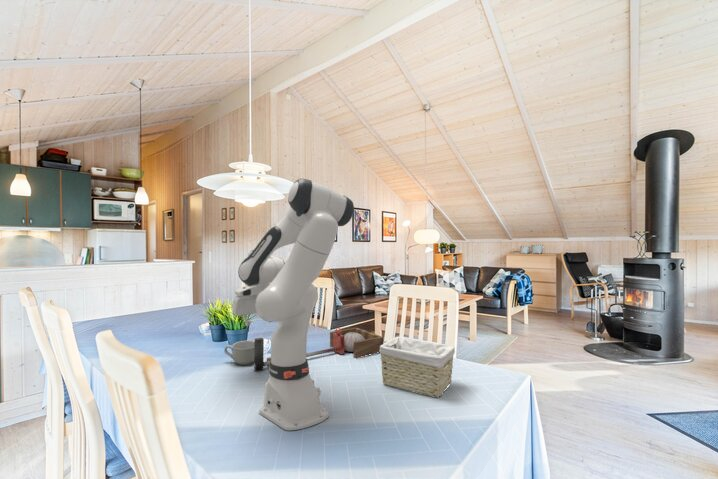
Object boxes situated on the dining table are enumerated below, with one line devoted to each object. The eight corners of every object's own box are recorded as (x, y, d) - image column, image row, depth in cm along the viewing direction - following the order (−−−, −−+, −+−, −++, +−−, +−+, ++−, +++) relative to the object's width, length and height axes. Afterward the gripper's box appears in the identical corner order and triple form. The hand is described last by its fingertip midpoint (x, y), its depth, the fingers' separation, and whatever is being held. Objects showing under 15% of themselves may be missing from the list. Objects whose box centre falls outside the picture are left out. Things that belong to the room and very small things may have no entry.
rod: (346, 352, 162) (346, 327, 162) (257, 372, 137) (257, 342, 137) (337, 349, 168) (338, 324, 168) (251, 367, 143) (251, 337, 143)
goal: (383, 351, 165) (383, 337, 165) (355, 358, 156) (355, 342, 156) (356, 340, 183) (356, 327, 183) (329, 346, 174) (330, 332, 174)
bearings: (305, 362, 150) (305, 355, 150) (272, 370, 142) (272, 362, 142) (299, 358, 155) (299, 351, 155) (266, 365, 147) (266, 357, 147)
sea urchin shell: (335, 352, 164) (335, 335, 164) (343, 344, 177) (343, 328, 177) (363, 354, 161) (363, 337, 161) (369, 346, 174) (369, 330, 174)
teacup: (261, 358, 155) (262, 340, 155) (252, 367, 144) (252, 348, 144) (231, 357, 156) (231, 339, 156) (219, 366, 146) (219, 347, 146)
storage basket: (456, 385, 128) (456, 344, 128) (441, 402, 114) (442, 357, 114) (397, 371, 141) (397, 335, 141) (377, 386, 127) (377, 345, 127)
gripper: (279, 286, 150) (280, 318, 150) (230, 291, 138) (231, 326, 138) (285, 287, 145) (286, 321, 145) (235, 292, 133) (236, 329, 133)
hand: (259, 323), depth 141 cm, fingers open, 8 cm apart
